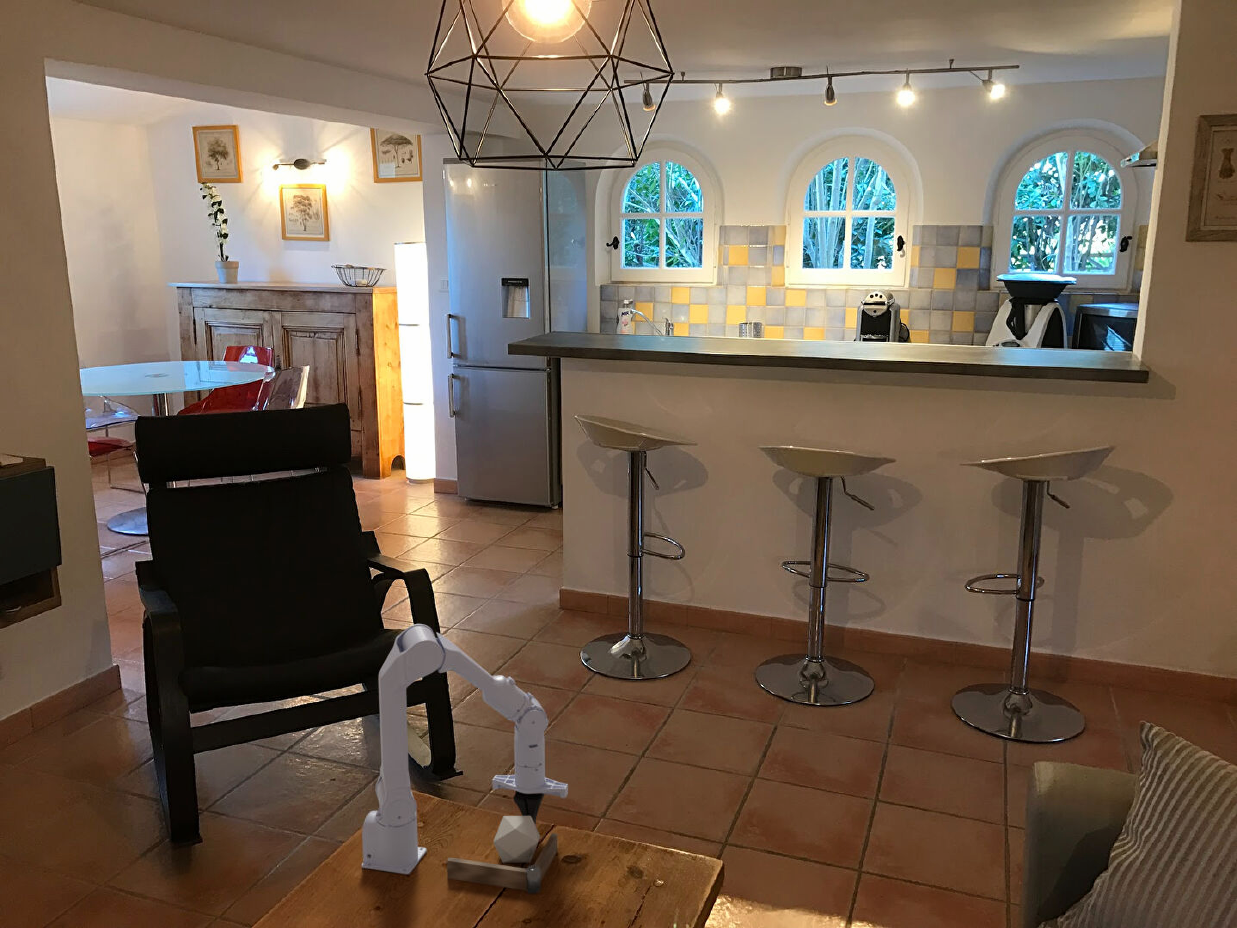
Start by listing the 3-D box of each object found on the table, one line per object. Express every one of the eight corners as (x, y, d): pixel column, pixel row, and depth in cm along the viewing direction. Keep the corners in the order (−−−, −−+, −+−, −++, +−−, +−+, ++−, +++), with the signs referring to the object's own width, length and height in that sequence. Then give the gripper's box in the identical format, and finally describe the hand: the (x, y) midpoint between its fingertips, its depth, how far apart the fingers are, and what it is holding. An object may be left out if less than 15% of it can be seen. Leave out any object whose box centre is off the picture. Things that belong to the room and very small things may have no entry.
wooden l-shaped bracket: (445, 880, 179) (445, 860, 178) (474, 838, 192) (474, 819, 191) (537, 894, 175) (537, 873, 174) (560, 850, 188) (560, 831, 187)
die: (520, 880, 180) (549, 832, 181) (480, 854, 180) (509, 806, 182) (524, 870, 188) (551, 824, 189) (485, 845, 188) (513, 799, 190)
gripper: (572, 755, 192) (572, 819, 195) (500, 746, 196) (502, 810, 198) (561, 772, 186) (562, 839, 188) (487, 763, 189) (489, 829, 191)
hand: (530, 825), depth 193 cm, fingers closed
